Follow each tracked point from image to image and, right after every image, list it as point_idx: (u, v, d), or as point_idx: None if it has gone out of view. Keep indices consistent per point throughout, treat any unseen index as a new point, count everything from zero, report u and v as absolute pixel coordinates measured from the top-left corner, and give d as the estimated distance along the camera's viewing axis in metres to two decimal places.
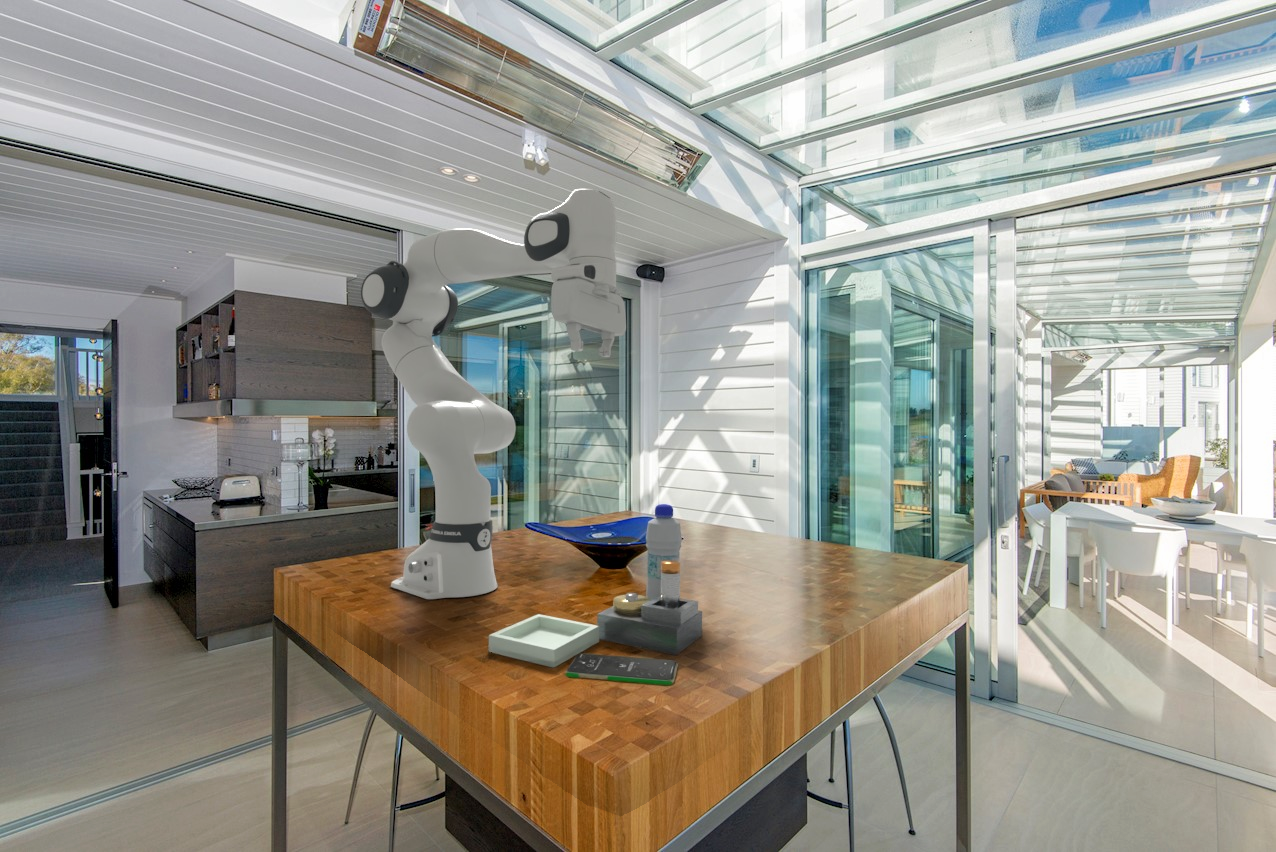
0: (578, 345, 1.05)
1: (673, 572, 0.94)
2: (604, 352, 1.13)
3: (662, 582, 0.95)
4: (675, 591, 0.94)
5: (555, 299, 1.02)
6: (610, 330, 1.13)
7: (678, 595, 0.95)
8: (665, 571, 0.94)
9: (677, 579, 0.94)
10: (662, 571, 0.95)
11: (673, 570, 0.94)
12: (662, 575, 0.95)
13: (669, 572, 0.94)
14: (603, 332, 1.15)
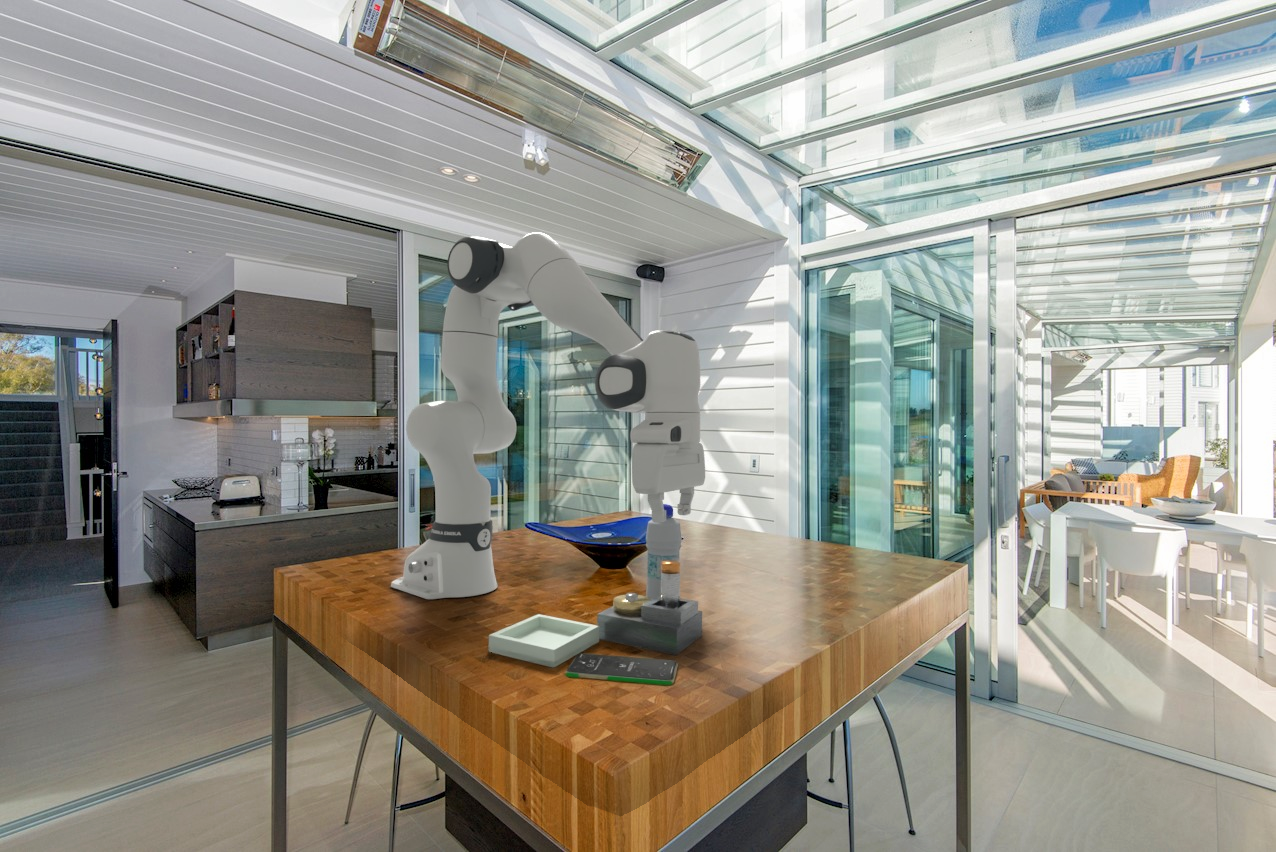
0: (661, 517, 0.90)
1: (673, 572, 0.94)
2: (684, 510, 0.99)
3: (662, 582, 0.95)
4: (675, 591, 0.94)
5: (637, 469, 0.87)
6: (691, 486, 0.98)
7: (678, 595, 0.95)
8: (665, 571, 0.94)
9: (677, 579, 0.94)
10: (662, 571, 0.95)
11: (673, 570, 0.94)
12: (662, 575, 0.95)
13: (669, 572, 0.94)
14: None
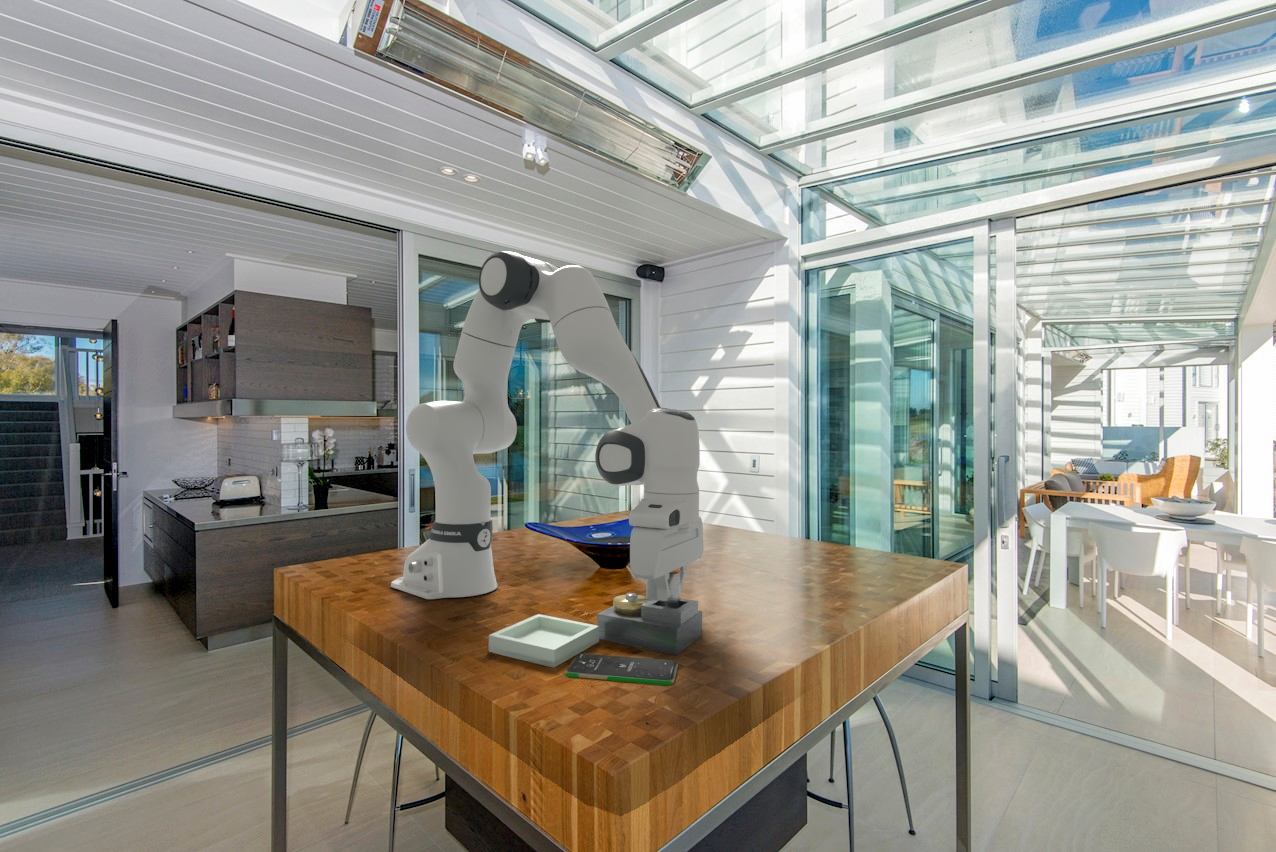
0: (666, 596, 0.92)
1: (673, 572, 0.94)
2: None
3: None
4: (675, 591, 0.94)
5: (635, 555, 0.87)
6: (689, 562, 0.98)
7: (678, 595, 0.95)
8: None
9: (677, 579, 0.94)
10: None
11: None
12: None
13: None
14: None
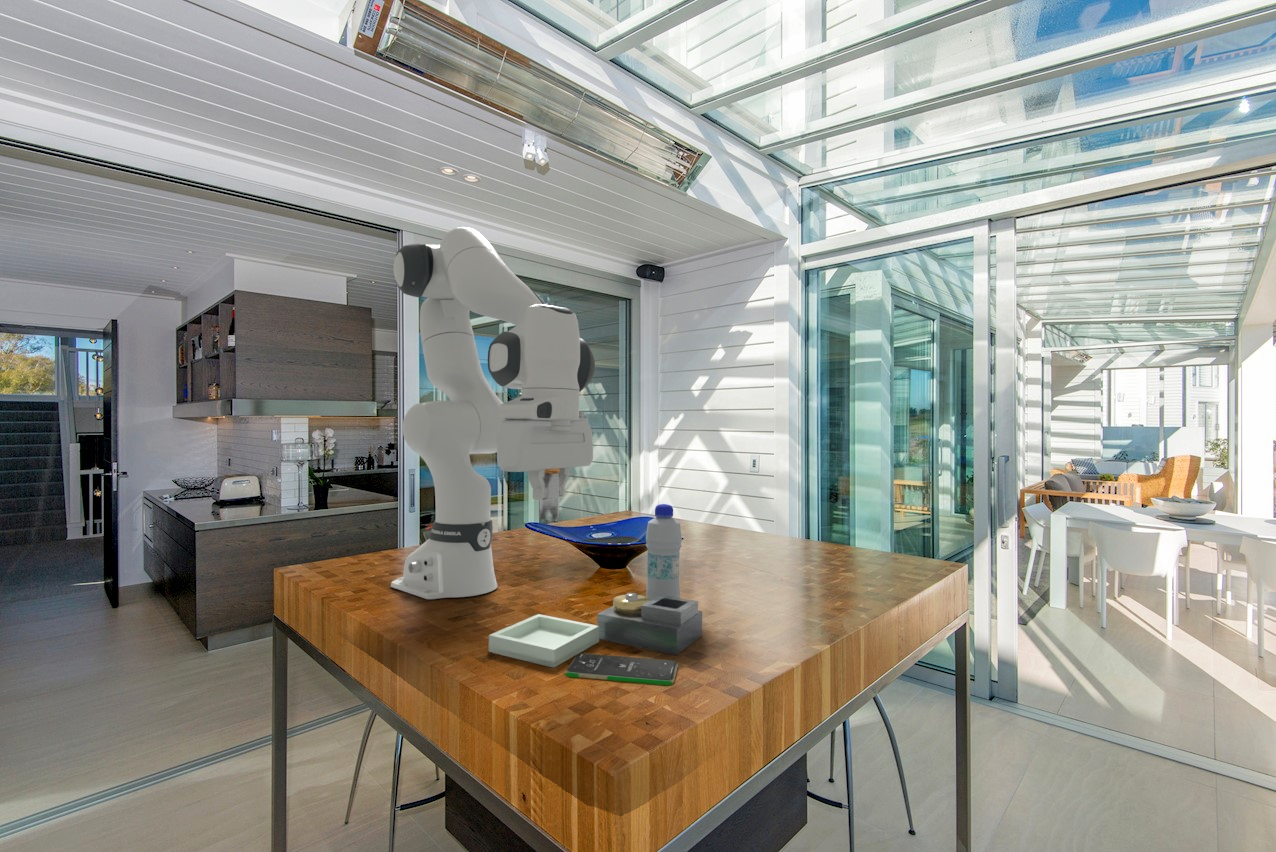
0: (541, 495, 0.90)
1: (551, 472, 0.91)
2: None
3: None
4: (553, 491, 0.91)
5: (501, 446, 0.84)
6: (573, 466, 0.95)
7: (556, 496, 0.92)
8: None
9: (555, 479, 0.91)
10: None
11: (550, 470, 0.91)
12: None
13: (546, 472, 0.91)
14: None
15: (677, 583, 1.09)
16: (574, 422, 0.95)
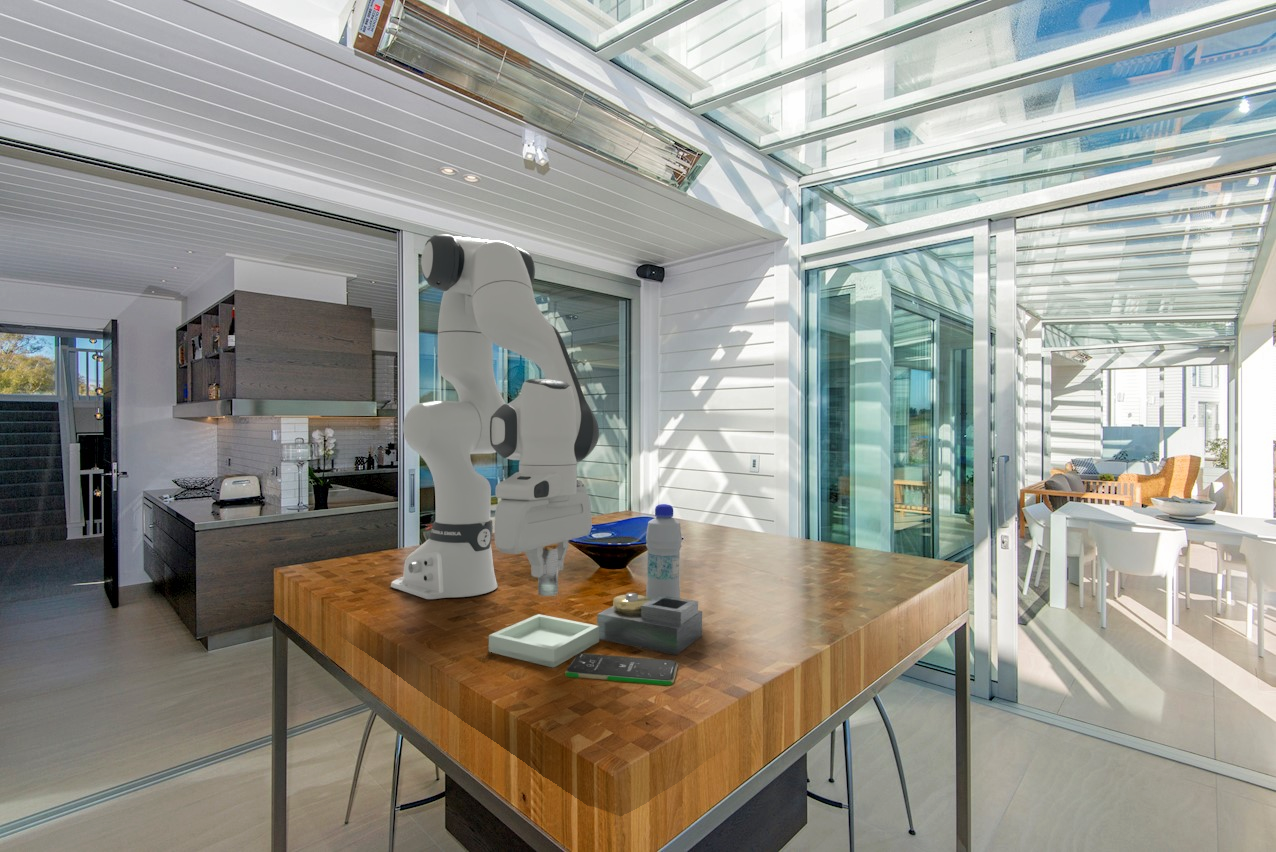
0: (540, 572, 0.89)
1: (549, 547, 0.90)
2: None
3: None
4: (552, 567, 0.91)
5: (499, 528, 0.84)
6: None
7: (555, 571, 0.91)
8: None
9: (554, 555, 0.91)
10: None
11: (549, 546, 0.90)
12: None
13: (545, 547, 0.90)
14: None
15: (677, 583, 1.09)
16: (572, 494, 0.95)
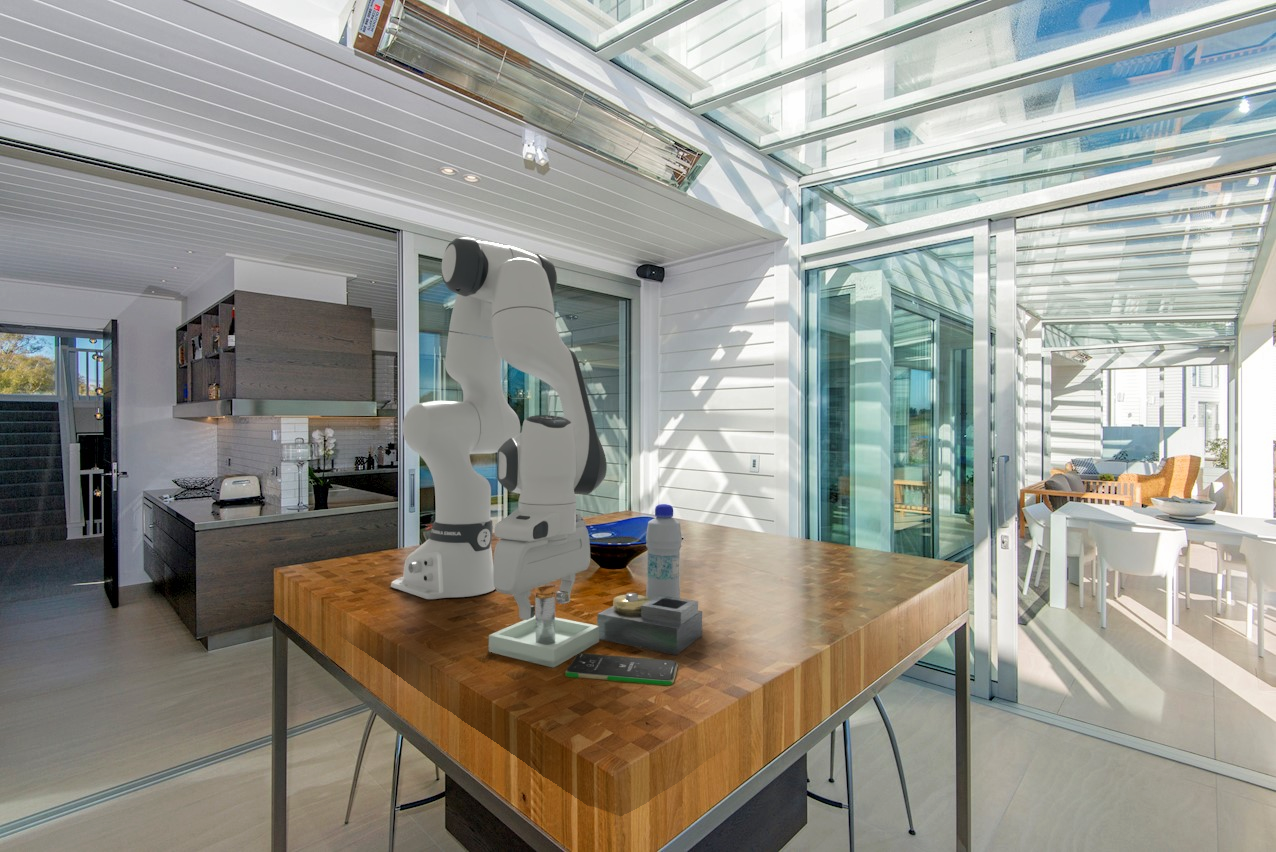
0: (527, 614, 0.87)
1: (546, 596, 0.91)
2: (562, 599, 0.95)
3: (536, 607, 0.91)
4: (549, 616, 0.91)
5: (497, 568, 0.84)
6: (570, 575, 0.95)
7: (552, 620, 0.91)
8: (538, 595, 0.91)
9: (551, 603, 0.91)
10: (535, 595, 0.91)
11: (546, 595, 0.91)
12: (535, 599, 0.91)
13: (542, 596, 0.91)
14: None
15: (677, 583, 1.09)
16: None
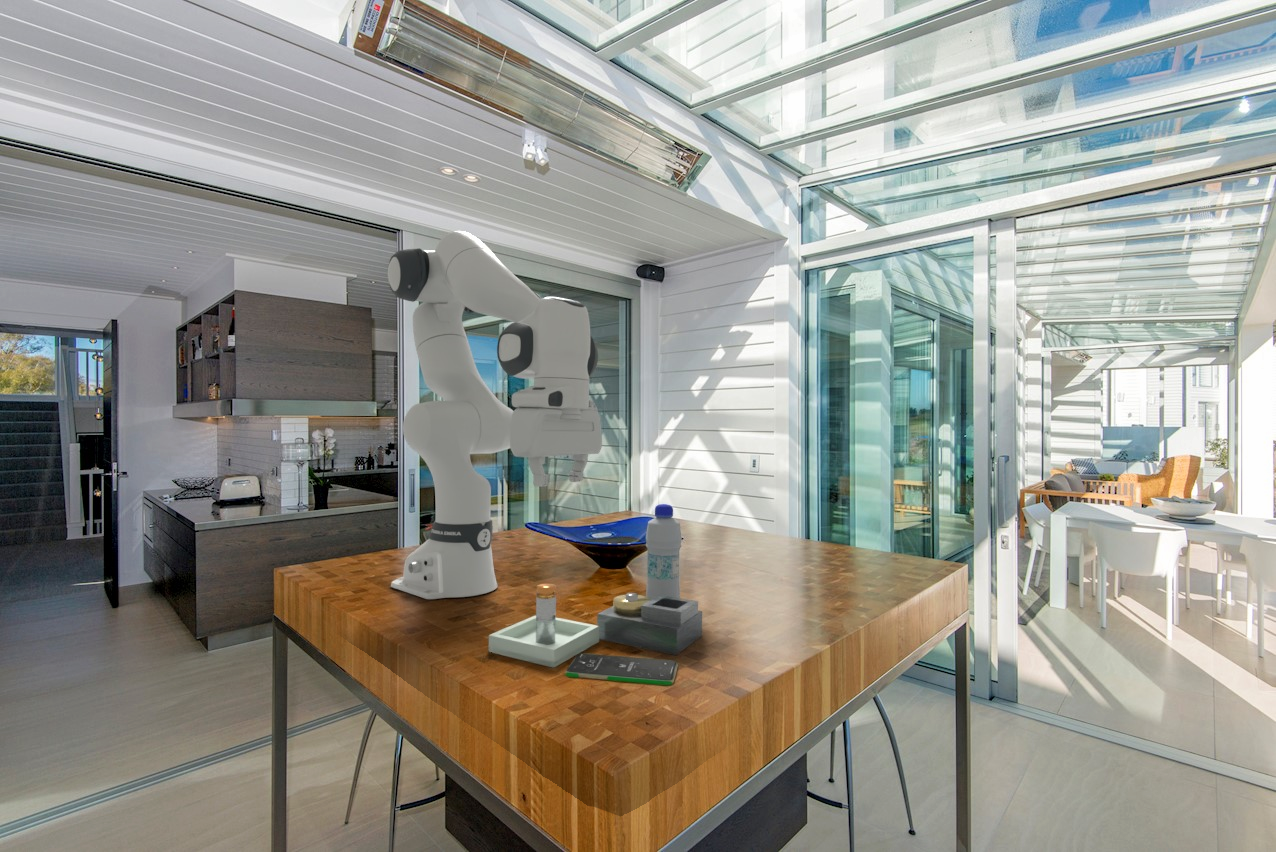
0: (541, 481, 0.91)
1: (547, 597, 0.91)
2: (575, 477, 1.00)
3: (536, 607, 0.91)
4: (550, 616, 0.91)
5: (514, 432, 0.88)
6: (582, 453, 0.99)
7: (553, 620, 0.91)
8: (539, 596, 0.91)
9: (552, 604, 0.91)
10: (536, 595, 0.91)
11: (547, 595, 0.91)
12: (537, 600, 0.91)
13: (543, 597, 0.91)
14: None
15: (677, 583, 1.09)
16: (584, 411, 0.99)
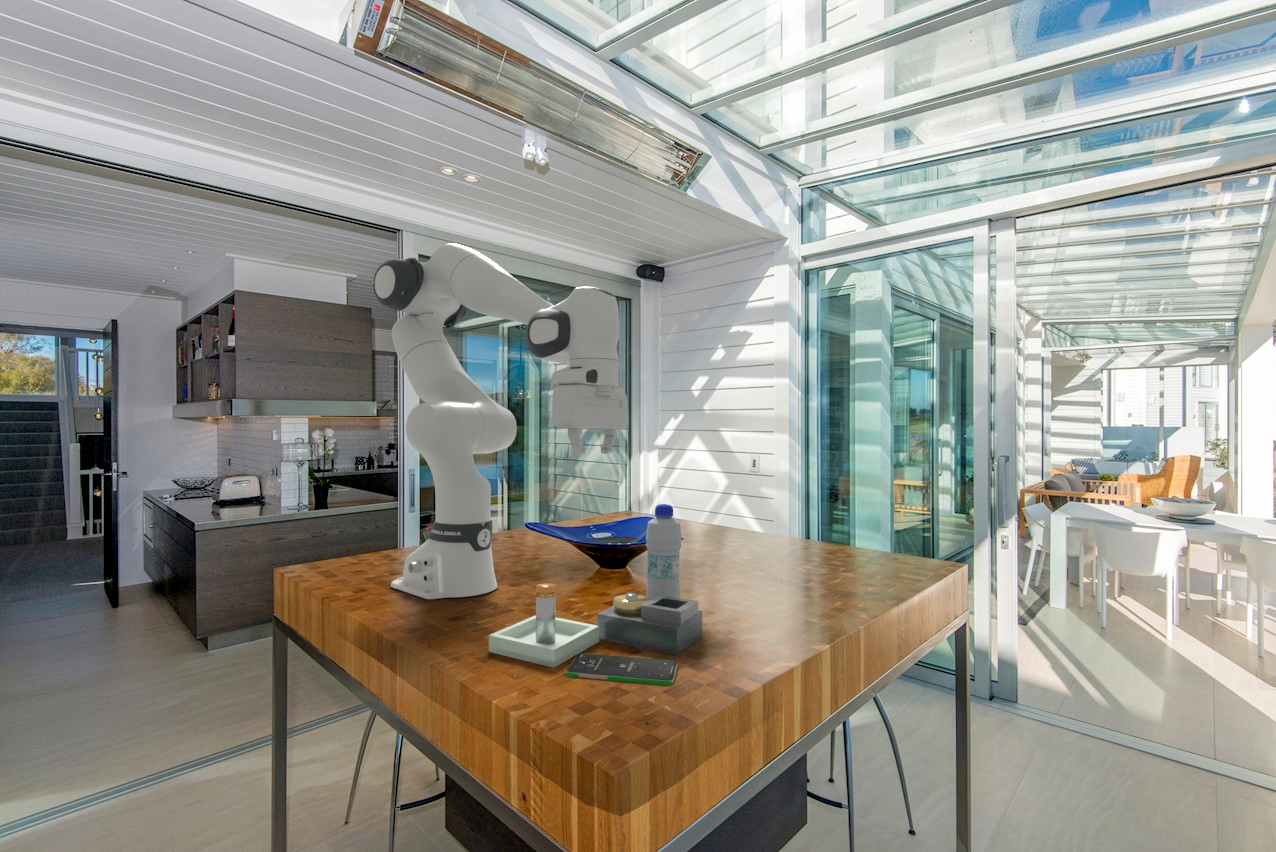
0: (579, 450, 1.02)
1: (547, 596, 0.91)
2: (606, 449, 1.11)
3: (536, 606, 0.91)
4: (550, 615, 0.91)
5: (556, 406, 0.99)
6: (612, 428, 1.10)
7: (553, 619, 0.91)
8: (539, 595, 0.91)
9: (552, 603, 0.91)
10: (536, 595, 0.92)
11: (547, 594, 0.91)
12: (536, 599, 0.91)
13: (543, 596, 0.91)
14: None
15: (677, 583, 1.09)
16: (613, 389, 1.10)
